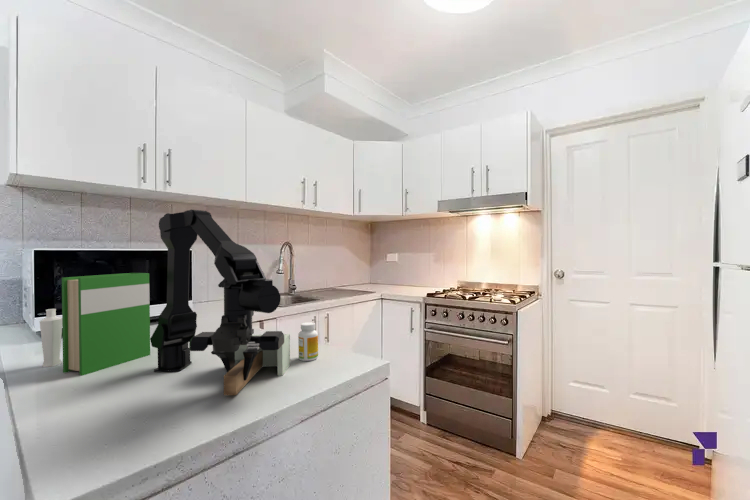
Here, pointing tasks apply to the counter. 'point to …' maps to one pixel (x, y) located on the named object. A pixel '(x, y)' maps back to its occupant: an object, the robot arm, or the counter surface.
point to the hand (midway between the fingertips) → (238, 379)
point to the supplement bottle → (308, 342)
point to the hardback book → (104, 320)
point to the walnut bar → (241, 375)
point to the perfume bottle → (51, 338)
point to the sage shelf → (272, 355)
